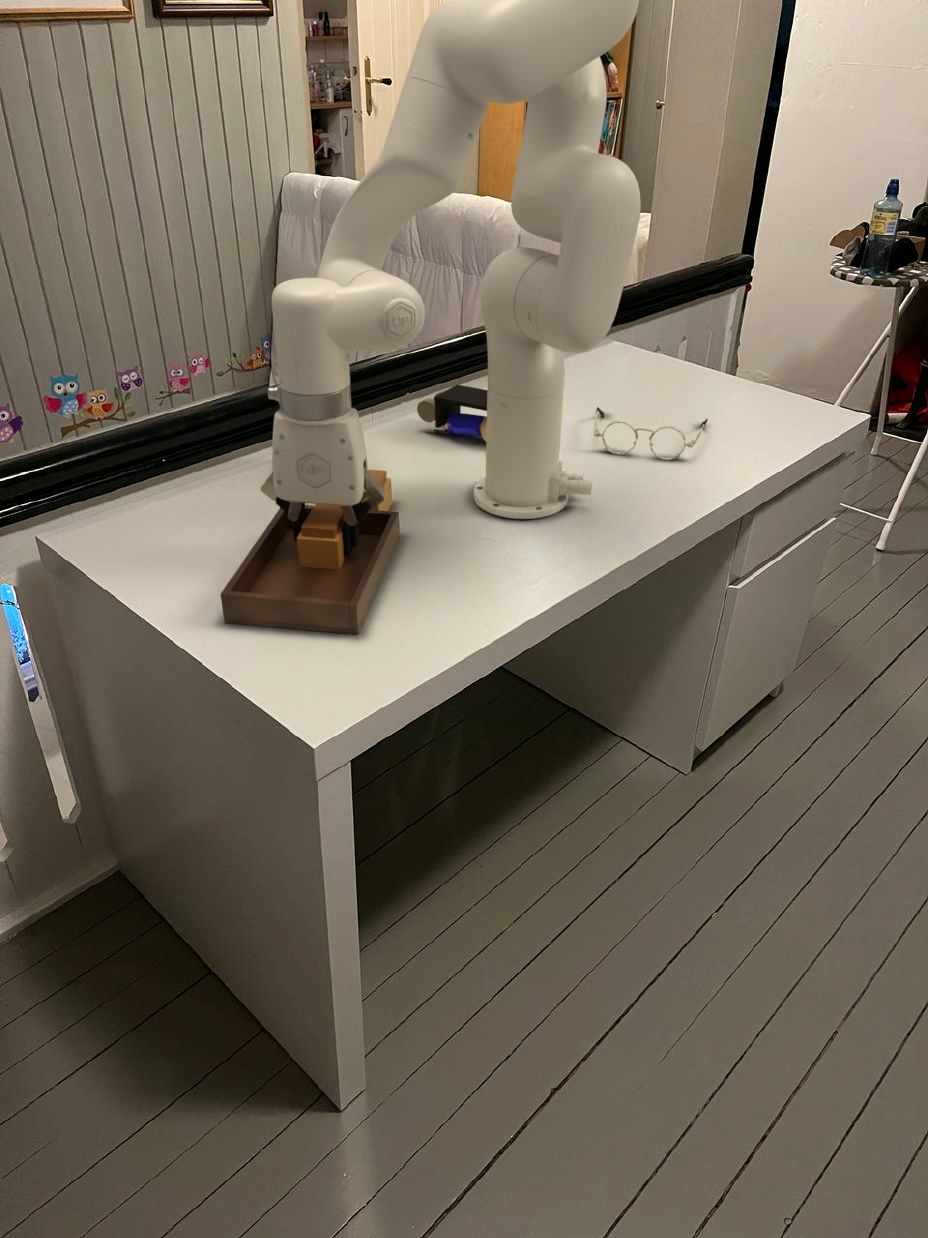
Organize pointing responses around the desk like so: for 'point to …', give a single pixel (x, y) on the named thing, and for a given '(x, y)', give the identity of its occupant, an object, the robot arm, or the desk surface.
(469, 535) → the desk surface
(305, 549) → the orange stepped block
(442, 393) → the figurine character
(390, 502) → the stepped wooden block
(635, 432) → the round wire eyeglasses
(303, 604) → the brown wooden tray
